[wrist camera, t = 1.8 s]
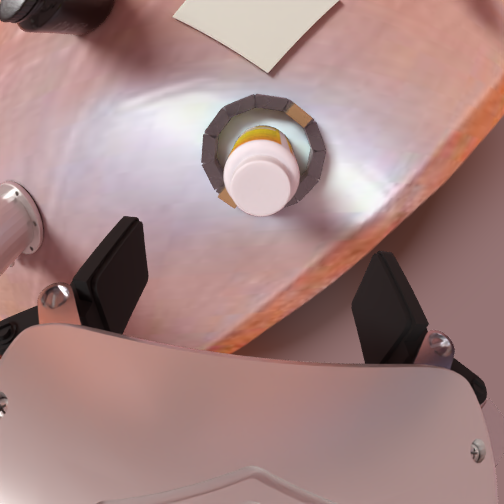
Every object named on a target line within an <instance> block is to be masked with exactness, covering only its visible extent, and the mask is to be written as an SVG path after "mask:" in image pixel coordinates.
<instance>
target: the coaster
mask: <svg viewBox="0 0 504 504" xmlns="http://www.w3.org/2000/svg"><path fill="white" fill-rule="evenodd" d="M338 1H339V0H186V1H185V2H184V3H183V4H182V5H181V7H180V8H179V9H178V10H177V12H176V13H175V14H174V15H173V18H175V19H177V20H179V21H181V22H183V23H185V24H187V25H189V26H191V27H193V28H195V29H197V30H199V31H201V32H202V33H204V34H206V35H208V36H210V37H211V38H213V39H215V40H217V41H218V42H220V43H222V44H223V45H225V46H227V47H228V48H230V49H232V50H233V51H235V52H236V53H238V54H240V55H241V56H243V57H244V58H246V59H247V60H249V61H250V62H252V63H253V64H255V65H256V66H258V67H259V68H261V69H262V70H264V71H265V72H266V73H269V72H270V70H271V69H272V68H273V67H274V66H275V65H276V64H277V62H278V61H279V60H280V59H281V58H282V57H283V56H284V55H285V54H286V53H287V51H288V50H289V49H290V48H291V47H292V46H293V45H294V44H295V43H296V42H297V41H298V40H299V39H300V38H301V37H302V36H303V35H304V34H305V33H306V32H307V31H308V30H309V29H310V28H311V27H312V26H313V25H314V24H315V23H316V22H317V21H318V20H319V19H320V18H321V17H322V16H323V15H324V14H325V13H326V12H327V11H328V10H329V9H330V8H331V7H332V6H334V5H335V4H336V3H337V2H338Z"/></svg>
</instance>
